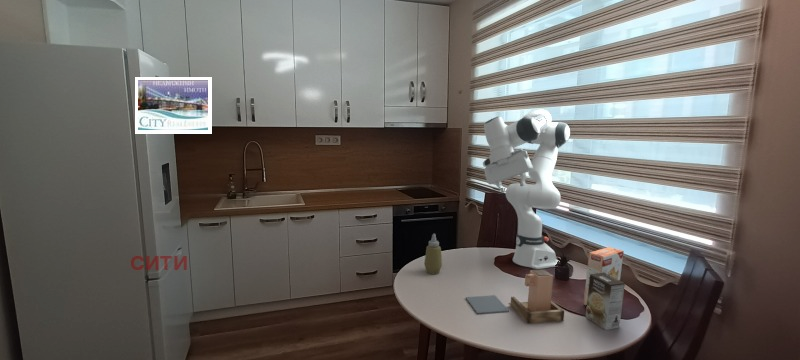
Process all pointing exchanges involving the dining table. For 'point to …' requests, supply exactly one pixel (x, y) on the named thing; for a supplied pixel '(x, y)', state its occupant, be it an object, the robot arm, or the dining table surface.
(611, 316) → the coffee box
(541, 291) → the jug
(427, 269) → the squeeze bottle
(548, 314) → the tray
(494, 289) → the dining table surface
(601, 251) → the cracker box
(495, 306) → the coaster
